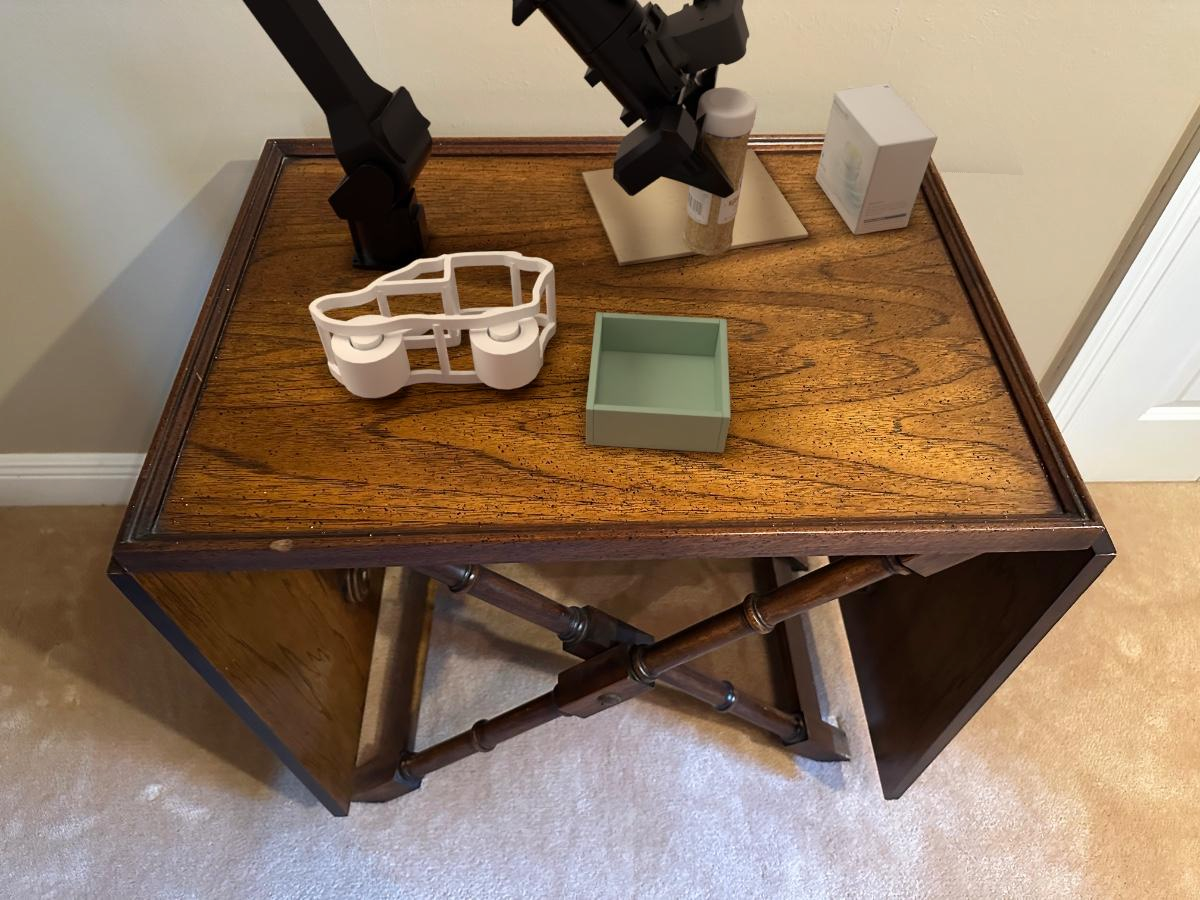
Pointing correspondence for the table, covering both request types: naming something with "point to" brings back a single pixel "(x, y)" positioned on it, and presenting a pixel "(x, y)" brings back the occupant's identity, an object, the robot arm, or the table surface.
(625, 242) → the mat
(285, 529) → the table surface
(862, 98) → the cosmetics box
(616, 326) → the bin
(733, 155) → the sprinkles bottle
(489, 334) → the car outline toy
